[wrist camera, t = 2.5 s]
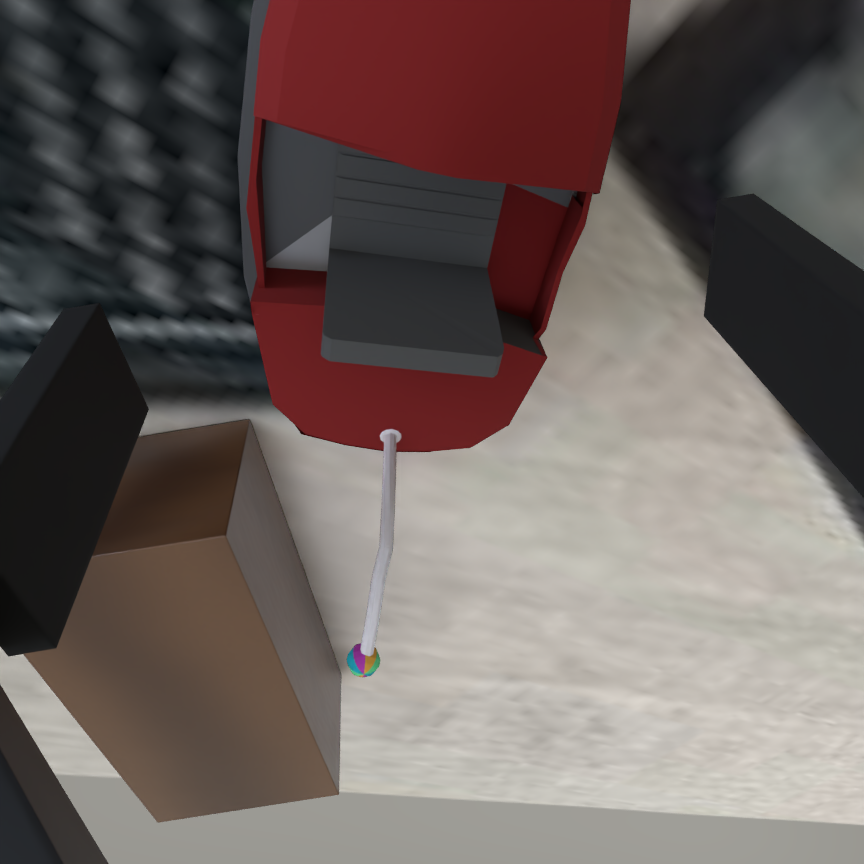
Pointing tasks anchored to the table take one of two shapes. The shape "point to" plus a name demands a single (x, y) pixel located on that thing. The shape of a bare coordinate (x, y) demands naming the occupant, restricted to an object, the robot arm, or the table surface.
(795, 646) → the table surface
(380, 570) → the bumper car
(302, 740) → the walnut block
